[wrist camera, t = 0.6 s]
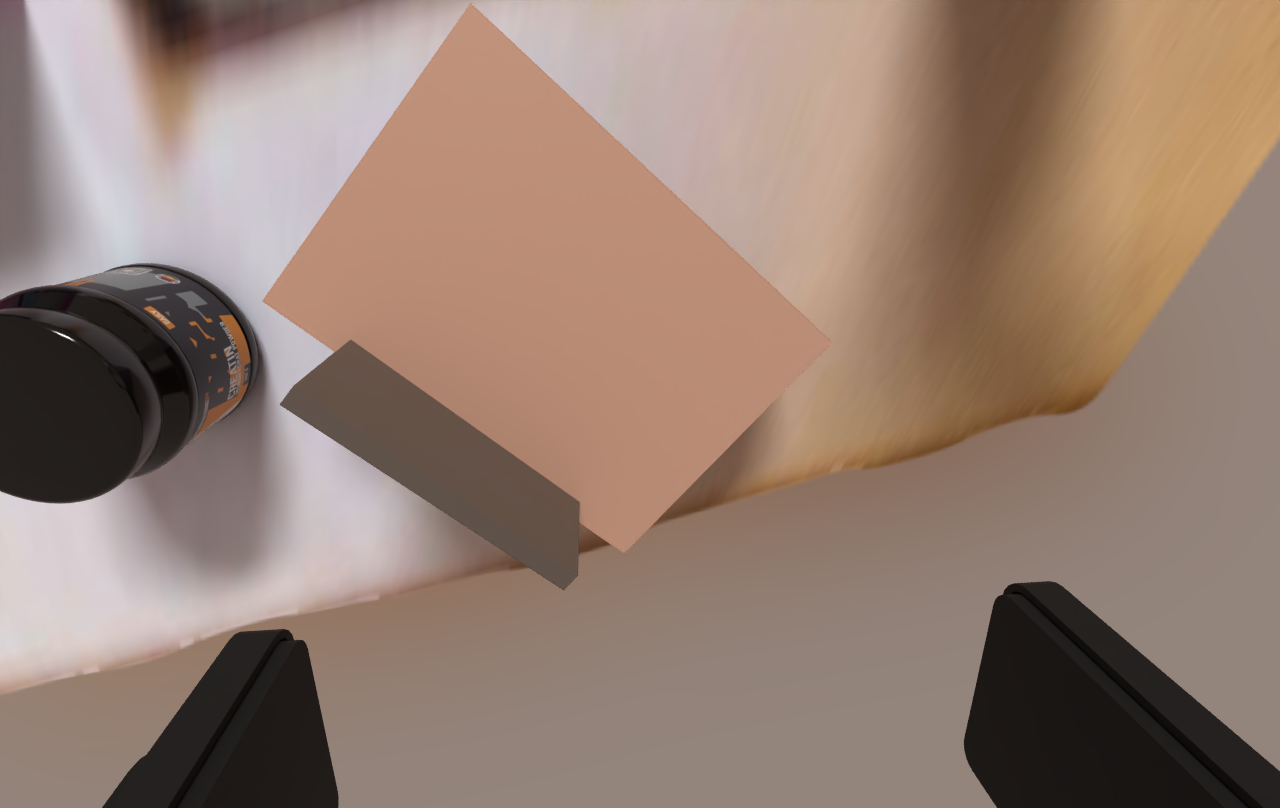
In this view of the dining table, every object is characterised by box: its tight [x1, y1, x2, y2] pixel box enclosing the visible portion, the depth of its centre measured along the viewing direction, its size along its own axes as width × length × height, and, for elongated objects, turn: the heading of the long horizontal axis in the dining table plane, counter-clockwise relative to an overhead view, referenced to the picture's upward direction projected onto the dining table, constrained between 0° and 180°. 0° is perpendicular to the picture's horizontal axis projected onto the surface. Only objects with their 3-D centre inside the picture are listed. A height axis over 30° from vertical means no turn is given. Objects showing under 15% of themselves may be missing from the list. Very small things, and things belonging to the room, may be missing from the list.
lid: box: [263, 3, 832, 590], centre depth 29 cm, size 16×22×7 cm
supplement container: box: [0, 263, 258, 504], centre depth 36 cm, size 10×10×12 cm
